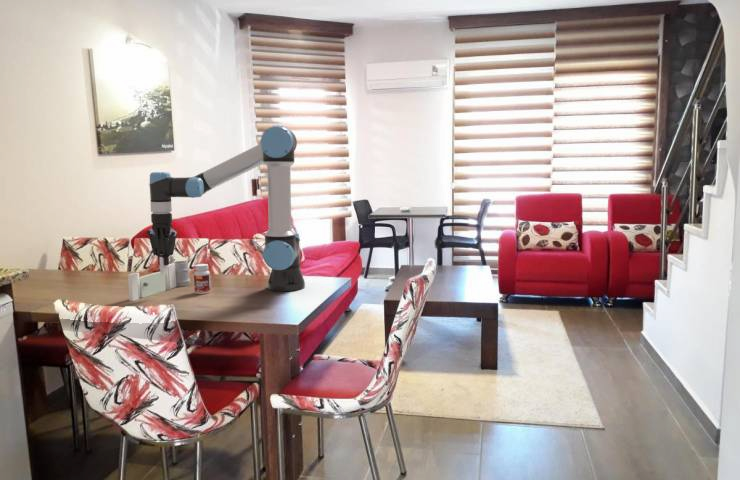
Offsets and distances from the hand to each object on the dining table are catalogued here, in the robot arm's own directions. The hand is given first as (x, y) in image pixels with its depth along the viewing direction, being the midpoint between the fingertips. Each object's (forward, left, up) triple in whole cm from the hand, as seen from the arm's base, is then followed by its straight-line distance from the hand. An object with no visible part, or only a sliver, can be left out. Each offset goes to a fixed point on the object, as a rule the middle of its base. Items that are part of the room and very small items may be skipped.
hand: (164, 273), depth 222 cm
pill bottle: (-10, -10, -9) cm, 17 cm away
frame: (+8, -3, -9) cm, 12 cm away
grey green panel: (+7, -2, -9) cm, 12 cm away
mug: (+10, -21, -9) cm, 25 cm away
